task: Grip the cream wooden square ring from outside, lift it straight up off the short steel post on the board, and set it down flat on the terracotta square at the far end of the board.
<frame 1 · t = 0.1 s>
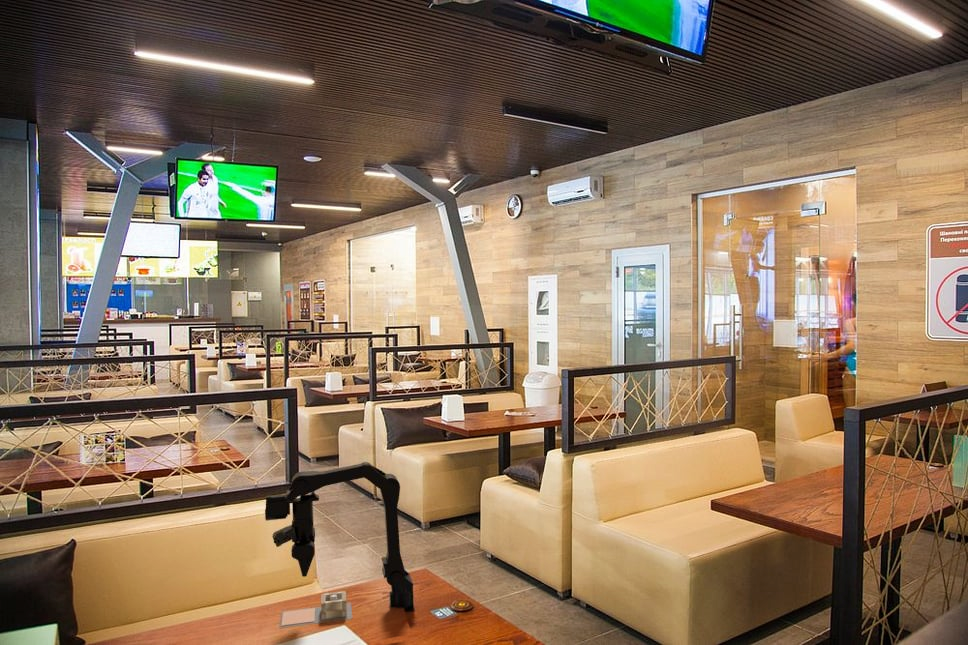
hand: (304, 570, 192), 14 cm above the table, tool pointing down, fingers open, 9 cm apart
stand board: (316, 618, 193), on the table
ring: (334, 612, 194), point 1 cm above the table, touching stand board
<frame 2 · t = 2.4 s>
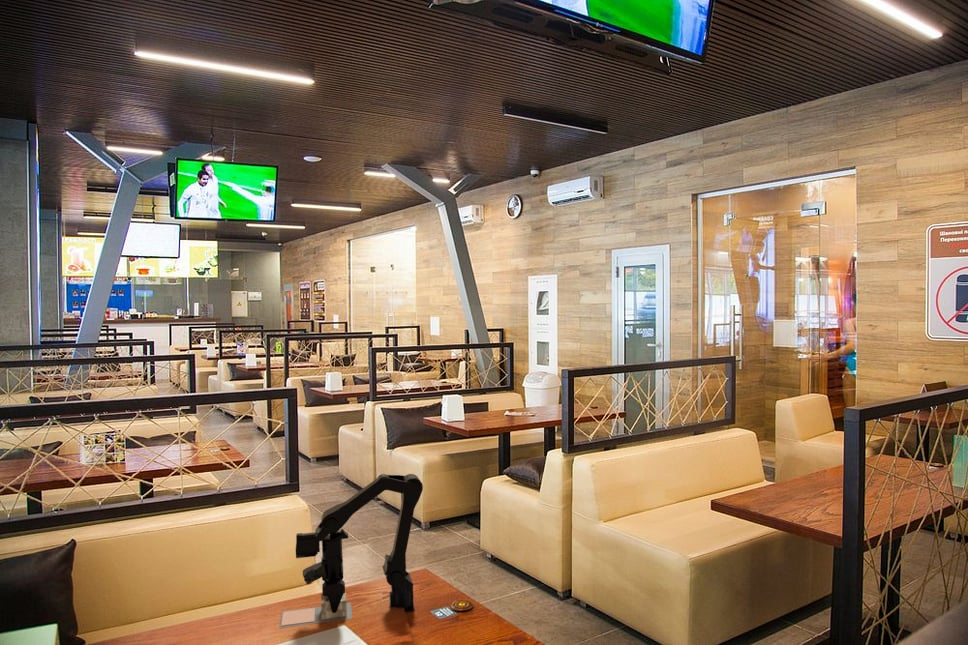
hand: (334, 607, 194), 3 cm above the table, tool pointing down, fingers closed on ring, 7 cm apart
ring: (334, 612, 194), point 1 cm above the table, touching gripper, stand board
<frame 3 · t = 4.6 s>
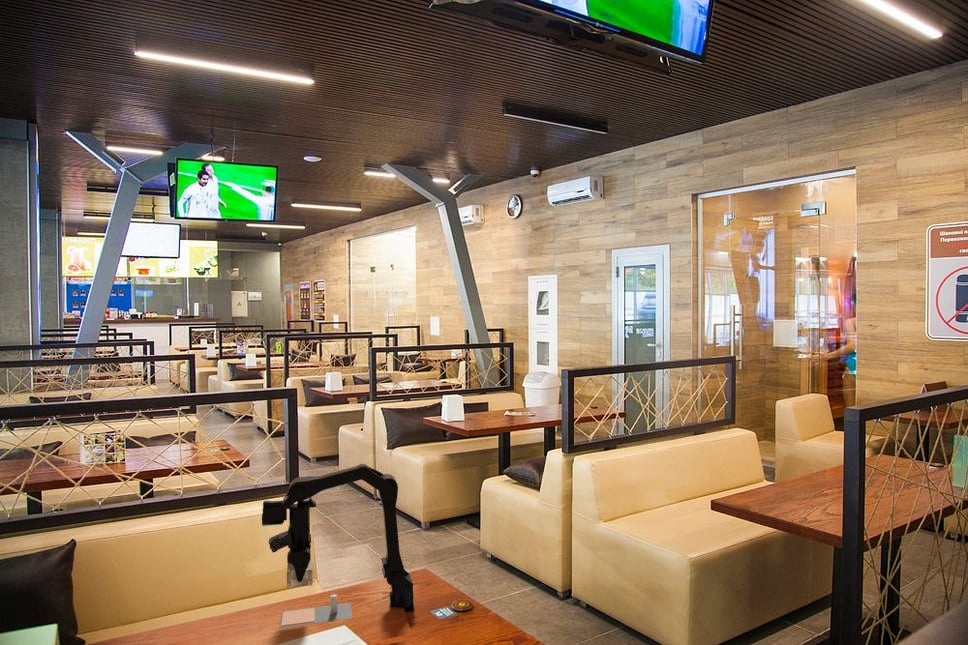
hand: (300, 576, 192), 13 cm above the table, tool pointing down, fingers closed on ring, 7 cm apart
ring: (300, 582, 192), point 11 cm above the table, touching gripper
when the fingers open (4 cm above the table, at t = 7.1 s): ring drops 1 cm, resting on stand board.
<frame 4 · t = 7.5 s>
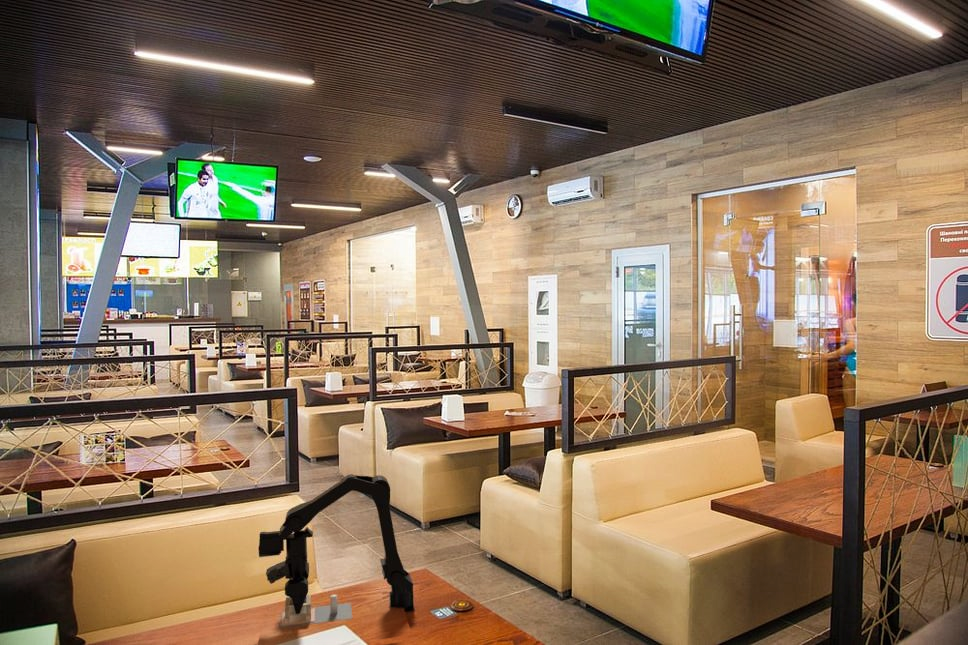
hand: (298, 606, 192), 4 cm above the table, tool pointing down, fingers open, 9 cm apart
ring: (298, 616, 192), point 1 cm above the table, touching stand board
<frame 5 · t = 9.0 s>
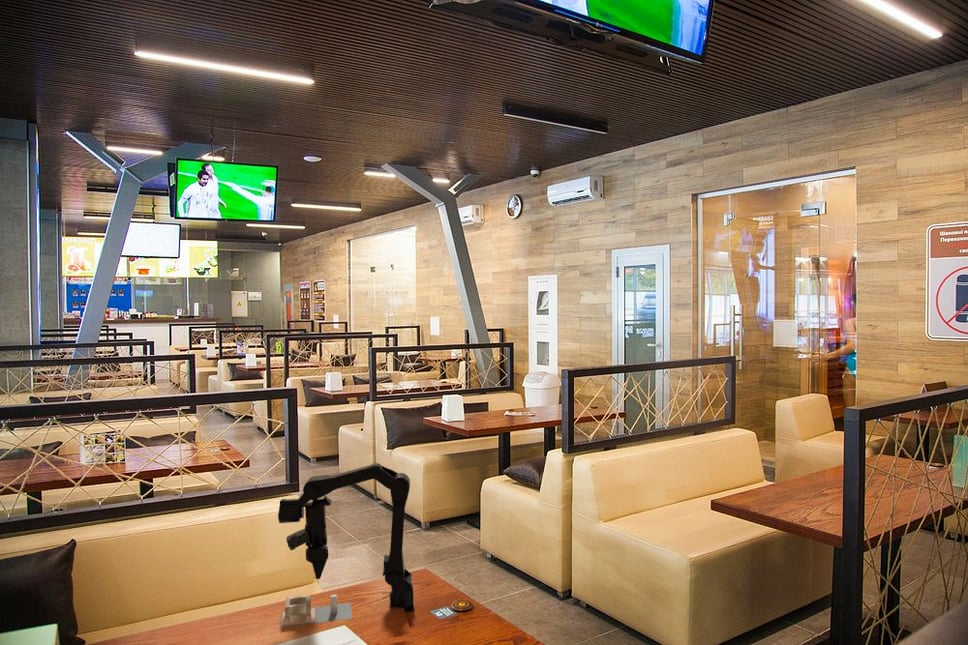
hand: (318, 573, 196), 12 cm above the table, tool pointing down, fingers open, 9 cm apart
nothing on the table moved.
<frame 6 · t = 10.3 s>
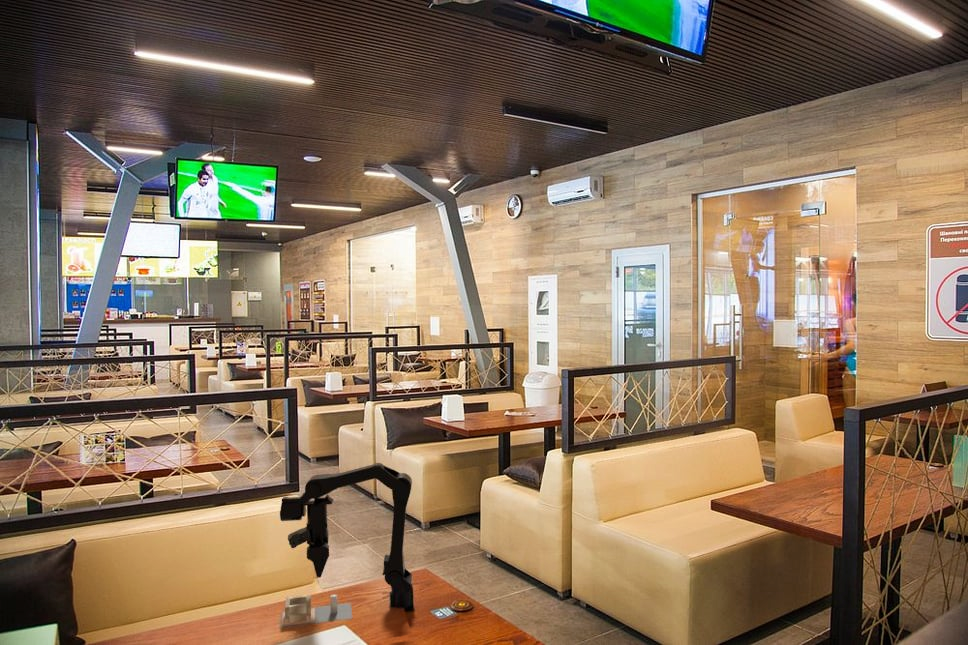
hand: (318, 571, 197), 12 cm above the table, tool pointing down, fingers open, 9 cm apart
nothing on the table moved.
at the end: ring 0.0 cm from the target spot, point 1.2 cm above the table; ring tilted 0°; the gripper is holding nothing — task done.
